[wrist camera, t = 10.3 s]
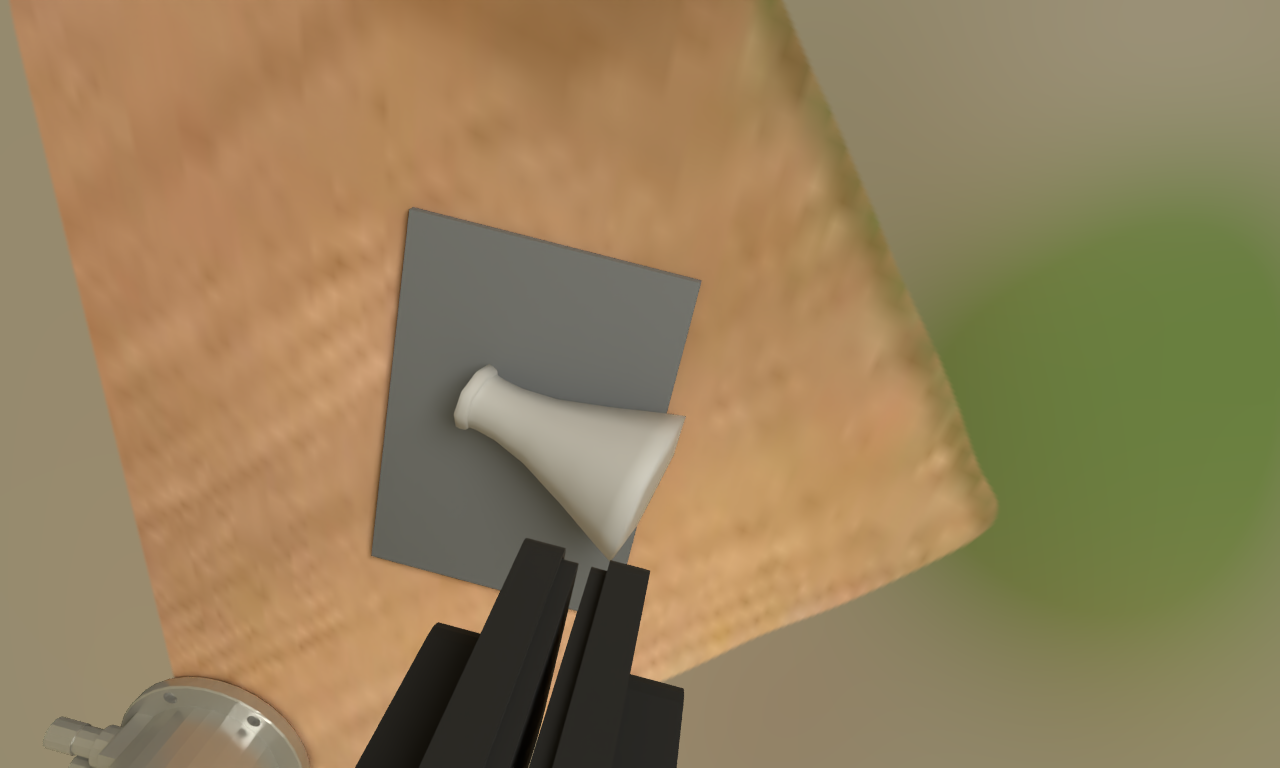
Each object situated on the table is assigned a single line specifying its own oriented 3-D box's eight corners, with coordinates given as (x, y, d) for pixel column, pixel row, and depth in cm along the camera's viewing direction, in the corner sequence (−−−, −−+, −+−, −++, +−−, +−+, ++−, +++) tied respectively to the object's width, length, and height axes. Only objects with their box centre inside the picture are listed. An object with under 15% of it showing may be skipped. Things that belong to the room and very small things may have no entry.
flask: (603, 589, 39) (421, 488, 40) (661, 489, 44) (499, 403, 45) (643, 494, 34) (435, 383, 35) (703, 394, 39) (520, 301, 41)
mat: (375, 550, 47) (371, 555, 47) (413, 207, 39) (409, 209, 39) (613, 614, 47) (612, 620, 46) (701, 280, 39) (700, 283, 38)
